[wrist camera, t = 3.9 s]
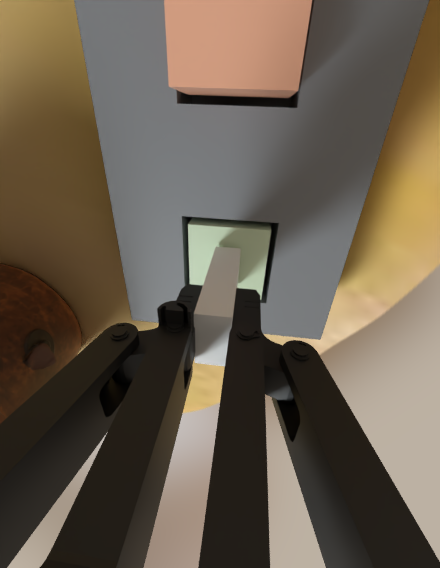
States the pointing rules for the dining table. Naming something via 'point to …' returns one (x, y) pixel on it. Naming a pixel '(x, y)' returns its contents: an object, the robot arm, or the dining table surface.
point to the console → (245, 150)
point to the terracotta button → (236, 46)
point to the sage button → (233, 235)
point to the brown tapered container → (31, 336)
